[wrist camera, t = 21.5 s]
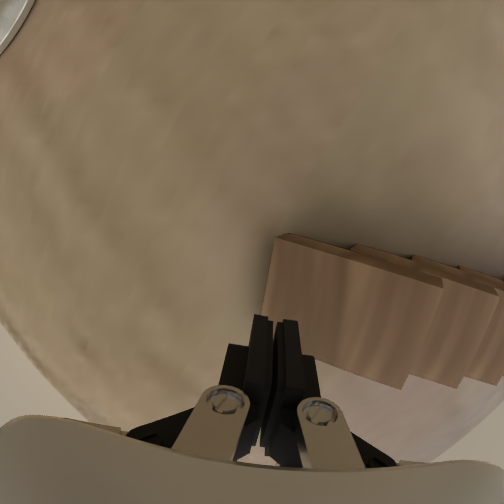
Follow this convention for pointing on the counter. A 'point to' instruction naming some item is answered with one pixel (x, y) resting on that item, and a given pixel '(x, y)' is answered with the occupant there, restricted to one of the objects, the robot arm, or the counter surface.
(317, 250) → the domino
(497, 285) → the domino
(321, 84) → the counter surface
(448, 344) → the domino
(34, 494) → the robot arm
